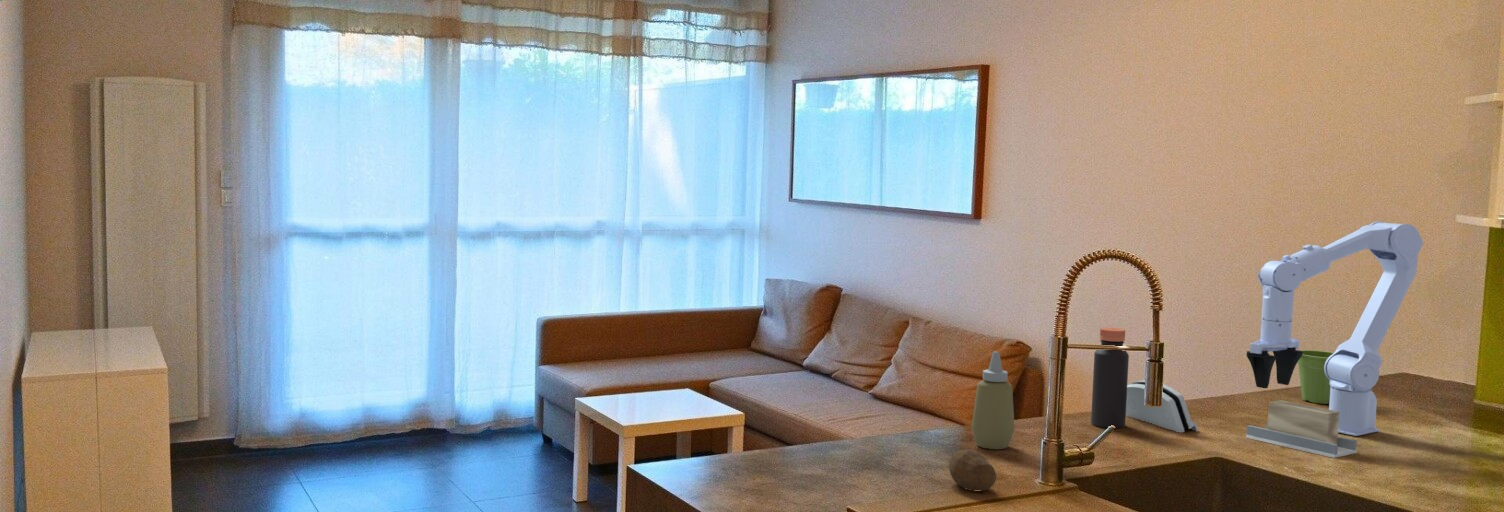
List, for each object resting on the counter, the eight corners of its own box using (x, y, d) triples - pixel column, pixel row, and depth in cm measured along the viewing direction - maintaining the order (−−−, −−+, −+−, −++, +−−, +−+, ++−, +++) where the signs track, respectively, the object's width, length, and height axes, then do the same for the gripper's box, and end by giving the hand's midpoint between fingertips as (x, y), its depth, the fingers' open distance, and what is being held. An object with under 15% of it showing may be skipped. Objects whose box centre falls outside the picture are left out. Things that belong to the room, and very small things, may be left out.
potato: (970, 498, 184) (972, 459, 184) (936, 482, 193) (937, 445, 193) (1004, 494, 187) (1006, 456, 187) (968, 478, 196) (970, 442, 196)
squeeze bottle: (1018, 444, 221) (1022, 351, 219) (1008, 453, 213) (1013, 357, 212) (976, 439, 224) (980, 347, 222) (965, 448, 217) (969, 353, 215)
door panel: (1278, 434, 232) (1280, 400, 231) (1337, 447, 222) (1339, 411, 221) (1267, 436, 230) (1269, 402, 229) (1325, 450, 220) (1328, 413, 219)
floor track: (1268, 433, 236) (1269, 421, 236) (1356, 452, 221) (1357, 440, 221) (1245, 437, 231) (1246, 425, 231) (1334, 457, 216) (1334, 445, 216)
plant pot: (1357, 407, 264) (1361, 358, 263) (1305, 406, 264) (1308, 357, 263) (1332, 397, 276) (1335, 350, 275) (1282, 395, 276) (1285, 348, 275)
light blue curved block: (1199, 431, 236) (1189, 386, 234) (1181, 440, 234) (1171, 395, 232) (1144, 413, 251) (1134, 371, 249) (1127, 422, 250) (1116, 380, 248)
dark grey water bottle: (1089, 426, 237) (1094, 330, 236) (1092, 420, 244) (1097, 326, 242) (1123, 430, 235) (1128, 332, 233) (1126, 423, 241) (1131, 328, 240)
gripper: (1275, 324, 228) (1270, 392, 229) (1315, 320, 237) (1310, 386, 238) (1242, 320, 234) (1238, 386, 235) (1282, 316, 242) (1278, 380, 243)
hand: (1272, 385), depth 237 cm, fingers open, 7 cm apart
